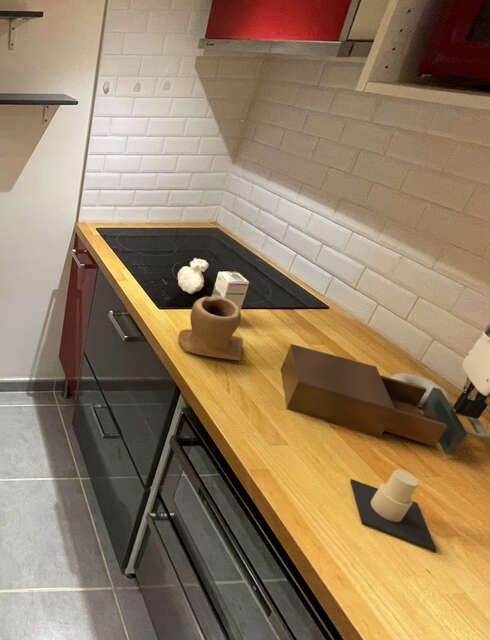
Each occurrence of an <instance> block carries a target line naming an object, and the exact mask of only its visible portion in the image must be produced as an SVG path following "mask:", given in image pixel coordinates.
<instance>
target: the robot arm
mask: <svg viewBox="0 0 490 640" xmlns="http://www.w3.org/2000/svg"><path fill="white" fill-rule="evenodd" d="M481 334H482V335H481V336H480V337H479V338H478V340H477V341H476V342H475V343H474V345H473V346H472V348H471V349H470V350H469V352H468V353H467V355H466V356H465V358H464V360H463V361H462V364H461V368H462V370H463V372H464V373H465V375H466V377H467V378H466V381H465V383H464V385H463V387H462V392H461V393H460V395H459V396H458V398H457V400H455V402H454V404H453V405H452V409H454V410H455V411H456V413H458V414H461V415H465V416H468V417H472V418H475V419H480V417H481V416H482V414H483V413H484V411H485V410H486V409H487V407H488V406H490V321H489V322H488V323H487V325H486V326H485V328H484V330H483V331H482V333H481ZM458 414H457V415H458ZM461 415H460V416H461ZM465 416H464V417H465Z"/></svg>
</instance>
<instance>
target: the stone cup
mask: <svg viewBox="0 0 490 640" xmlns="http://www.w3.org/2000/svg"><path fill="white" fill-rule="evenodd" d="M241 321H242V313H241V310H240V308H239V307H238V306H237V305H236V304H235V303H234V302H233V301H231V300H229V299H226V298H223V297H218V296H214V297H212V296H203V297H200V298H199V299H198V298H197V300H196V301H195V302H194V303H193V305H192V308H191V312H190V327H191V329H182V330H180V331H179V333H178V343H179V345H180V346H181V347H182V348H183V349H184V350H185V351H186V352H188V353H191V354H194V355H199V356H204V357H210V358H217V359H224V360H232V361H241V359H242V348H243V346H244V339H243V338H242V337H241V336H235V335H234V333H235V332H236V331H237V330H238V328H239V326H240V324H241Z"/></svg>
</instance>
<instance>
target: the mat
mask: <svg viewBox="0 0 490 640" xmlns="http://www.w3.org/2000/svg"><path fill="white" fill-rule="evenodd" d="M350 485H351V489H352V490H351V491H352V493H353V497H354V501H355V505H356V508H357V512H358V516H359V520H360V522H361V525H364V526H365V527H368V528H371V529H375V530H376V531H379V532H381V533H384V534H386V535H389V536H392V537H394V538H397V539H399V540H402V541H404V542H407V543H409V544H412V545H415V546H416V547H420V548H423V549H425V550H428V551H430V552H432V553H436V552H437V548H436V545H435V543H434V540H433V538H432V535H431V532H430V530H429V527H428V526H427V525H428V524H427V523H426V520H425V518H424V515H423V513H422V511H421V508H420V506H419V503H418V502H416V501H413V500H412V505H411V506H410V508H409V510H408V511H407V513H406V514H405V516H404V517H403V519H402V520H401V521H399V522H394V521H390V520H388V519H386V518H384V517H382V516H381V515H379V514H378V513H377V512H376V511H375V510H374V509H373V508H372V506H371V500H372V498H373V497H374V495H375V493H376V492H377V490H378V488H379V487H378V488H377V487H375V486H372V485H369V484H366V483H363V482H361V481H358V480H356V479H354V478H353V479H352V478H351V479H350Z"/></svg>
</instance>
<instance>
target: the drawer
mask: <svg viewBox="0 0 490 640" xmlns="http://www.w3.org/2000/svg"><path fill="white" fill-rule="evenodd" d="M380 376H381V379H382V381H383V383H384V385H385V388H386V390H387V392H388V394H389V396H390V399H391V401H392V403H393V405H394V408H395V412H394V414H393V415H392V417H391V419H390V421H389V422H388V424H387V426H386V428H385V430H384V431H383V432H387V433H391V434H393V435H397V436H400V437H403V438H406V439H409V440H412V441H417V442H419V443H422V444H426V445H429V446H431V447H435V446H436V445H437V444H438V443H439V445H440V447H441V449H442V451H443V453H444V454H445V455H450V456H455V453H456V452H457V451H458V449H459V447H461V445H462V443H463V442H464V440H465V439H466V437H467V436H471V437H475V438H478V439H480V441H481V442H484V443H490V434H489V433H488V432H487V430H486V429H485V426H483V424H482V423H481V421H480V418H478V419H475V418H472V417H468V416H465V415H461V414H458V413H456V411H455V409H454V408H453V406H452V405H451V403H450V404H449V402H448V400H447V399H446V397H445V395H444V394H443V392H442V390H441V389H438V388H435V387H433V389H432V390H431V392H430V394H429V395H428V397H427V399H426V400H425V402H424V404H423V405H422V407H420V409H421V410H422V412H423V414H424V416H425V417H424V416H423V414H422V412H421V410H420V409H419V407H418V404H419V402H420V401H421V399H422V397H423V395H424V394H425V392H426V390H427V389H426V388H425V387H421V386H418V385H414V384H410V383H407V382H403V381H399V380H396V379H392V378H391V377H388V376H385V375H381V374H380ZM458 416H461V417H465V418H466V419H467V421H468V422H469V424H470V425H471V427H472V428H473V430H474V431H473V430H472V431H471V430H468V429H466V428H465V427H464V425H463V423H462V422H461V420H460V418H459V417H458Z"/></svg>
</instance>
